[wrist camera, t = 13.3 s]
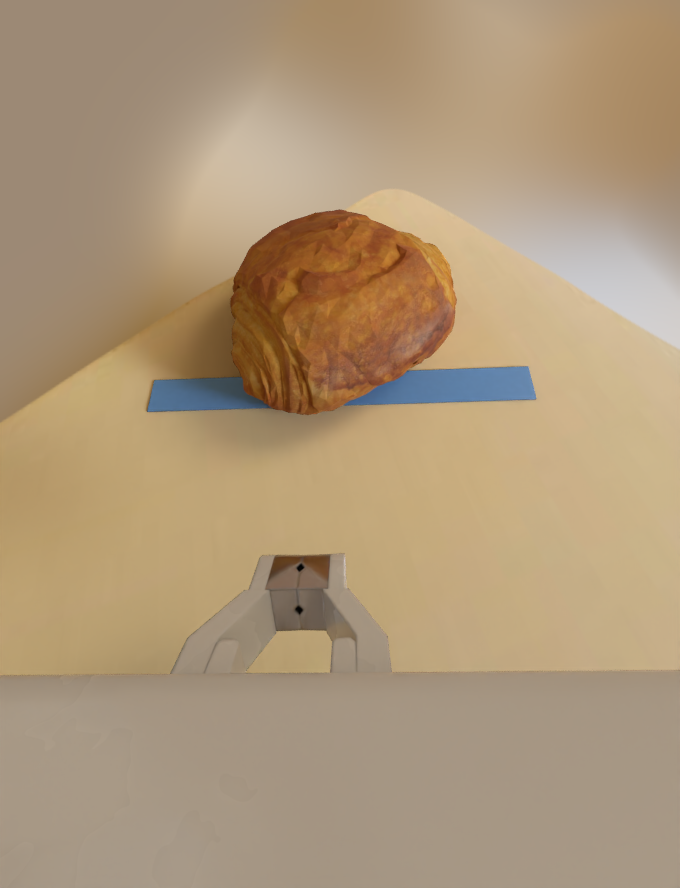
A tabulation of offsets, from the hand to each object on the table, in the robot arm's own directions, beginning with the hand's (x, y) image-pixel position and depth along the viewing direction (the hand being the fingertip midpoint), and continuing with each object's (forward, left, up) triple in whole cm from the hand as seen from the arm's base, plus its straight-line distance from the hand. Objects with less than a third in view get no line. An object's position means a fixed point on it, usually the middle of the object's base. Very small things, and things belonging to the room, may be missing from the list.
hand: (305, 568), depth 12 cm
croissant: (+15, -7, -7) cm, 18 cm away
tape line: (+11, -5, -7) cm, 14 cm away
